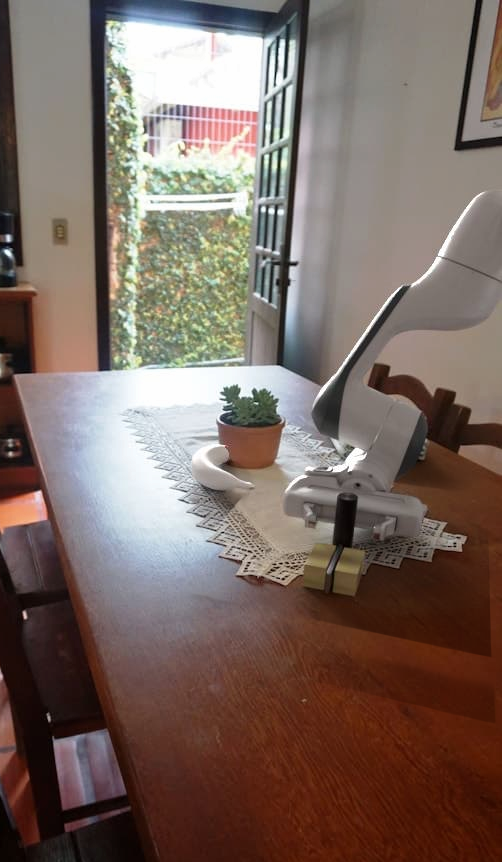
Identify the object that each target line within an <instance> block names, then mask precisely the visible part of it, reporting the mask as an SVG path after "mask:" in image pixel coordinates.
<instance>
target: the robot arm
mask: <svg viewBox="0 0 502 862" xmlns="http://www.w3.org/2000/svg"><path fill="white" fill-rule="evenodd" d="M501 301H502V189H499V188H498V189H496V188H495V189H489V190H485V191H483V192H481V193H479V194H477V195H476V196H475V197H474V198H473V199H472V200H471V202H470V203H469V204H468V205H467V207H466V208H465V210H464V211H463V213H462V214H461V215H460V217H459V218H458V220H457V221H456V223H455V225H454V226H453V228H452V229H451V230H450V232H449V234H448V236H447V238H446V240H445V242H444V243H443V245H442V247H441V249H440V250H439V252H438V255H437V256H436V259H435V260H434V262H433V264H432V265H431V266H430V268H429V269H428V271H427V272H426V273H425V274H423V276H421V277H420V278H419V279H418V280H417V281H415V282H413V283H409V284H407V283H405V284H403V285H401V286H399V287H398V288H397V290H395V291H394V292H393V293H392V294H391V296H390V297H388V299H387V301H386V302H385V303H384V304H383V306H382V307H381V308H380V310H379V312H378V313H377V314H376V316H375V317H374V318H373V320H372V321H371V322H370V324H369V326H368V327H367V328H366V330H365V332H364V333H363V334H362V335H361V337H360V339H359V340H358V341H357V343H356V344H355V345H354V347H353V348H352V350H351V351H350V353H349V354H348V355H347V357H346V359H344V361H343V363H342V365H341V366H340V367H339V369H338V370H337V372H335V374H334V375H333V376H332V377H331V378H330V379H329V380H328V381H327V382H326V383H325V385H323V387H322V388H321V389H320V391H319V392H318V393H317V395H316V398H315V399H314V402H313V405H312V408H311V413H310V415H311V418H312V421H313V424H314V426H315V427H316V430H317V431H318V433H319V434H320V435H322V436H324V437H327V438H329V439H330V438H332V439H335V440H338V441H342V442H345V443H347V444H349V445H351V446H353V447H355V448H356V449H355V450H354V451H353V452H352V453H351V454H350V455H349V456H348V457H347V459H344V462H343V463H342V465H341V464H340V465H335V466H308V467H306V468H305V470H304V475H301V476H298V477H297V478H295V479H294V480H293V481H292V482H291V483H290V484H289V485H288V487H287V488H286V489H285V491H284V493H283V498H282V512H283V515H285V516H287V517H292V518H296V519H302V520H303V521H304V528H306V529H313V530H315V529H316V528H317V526H318V523H320V522H321V523H326V524H333V525H334V522H335V513H336V504H337V495H338V494H339V493H343V492H348V493H353V494H355V495H357V496H358V503H357V511H356V520H355V528H356V529H362V530H367V531H372V537H371V539H372V540H376V541H382V542H383V541H384V539H385V537H388V536H389V537H390V536H391V535H397V536H402V537H409V538H415V537H418V536H420V535H421V533H422V527H423V520H424V517H425V516H426V514H427V513H428V506H427V504H425V503H423V502H422V501H421V499H420V498H418V497H416V496H412V495H408V494H401V493H394V492H391V490H392V489H393V486H394V482H395V480H397V479H400V478H402V477H404V476H405V475H407V474H409V473H410V472H411V471H412V469H413V468H414V466H415V465H416V463H417V461H419V459H418V458H419V456H420V453H421V451H422V449H423V446H425V445H424V443H425V439H427V436H428V431H429V427H428V421H427V418H426V415H425V412H424V411H423V410H421V409H420V408H417V407H415V406H412V405H411V404H409V403H406V402H405V401H402V400H400V399H398V398H393V397H392V396H389V395H387V394H385V393H383V392H381V391H379V390H376V389H375V388H372V387H370V386H368V385H367V384H366V383H365V381H364V377H365V376H366V374H367V373H368V371H369V370H370V369H371V368H372V366H373V365H374V363H375V362H376V361H377V359H378V358H379V356H380V355H381V353H382V352H383V351H384V349H385V348H386V347H387V345H388V344H389V343H390V342H391V340H393V338H395V337H396V336H398V335H399V334H402V333H405V332H410V331H436V332H437V331H438V332H439V331H441V332H457V331H463V330H468V329H471V328H474V327H477V326H479V325H480V324H482V323H484V322H485V321H487V319H489V318H490V316H491V315H492V314H493V312H494V311H495V310H496V308H497V306H498V305H499V304H500V302H501ZM355 528H354V529H355Z"/></svg>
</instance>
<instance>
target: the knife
mask: <svg viewBox="0 0 502 862" xmlns="http://www.w3.org/2000/svg"><path fill="white" fill-rule="evenodd" d="M357 503H358V496H357V495H355V494H353V493H348V492H343V493H339V494H338V495H337V504H336V513H335V522H334V524H333V532H332V533H333V534H332V542H331V545H335V546H336V553H335V555H334V557H333V560H332V562H331V564H330V567H329V569H328V571H327V574H326V584H325V589H324V594H325V595H329V593H330V591H331V588H332V587H333V582H334V573H335V569H336V566H337V564H338V562H339V559H340V557H341V554H342V552H343V549H344V547H346V548H351V549H353V543H354V535H355V520H356V511H357Z"/></svg>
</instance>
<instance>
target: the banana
mask: <svg viewBox="0 0 502 862" xmlns="http://www.w3.org/2000/svg"><path fill="white" fill-rule="evenodd" d="M225 446H226V445H223V444H211V445H207V446H204V447H202V448H200V449H198V450H197V451H196V452H195V453H194V454H193V455H192V458H191V461H190V469H189V470H190V473H191V475H192V477H193V478H194V479H195V480H196V481H197V482H198V483H199V484H201V485H203V486H204V487H206V488H208V489H212V490H215V491H229V490H231V489H232V490H233V489H235V488H239V489H243V490H246V491H249V490H250V489H251V488H252V489H254V488H255V485H253V483H252V482H249V481H248V482H247V481H245V480H241V479H239V478H238V477H236V476H234V474H231V473H230V472H227V471H225V470H224V469H221V468H219V467H217V466H218V465H220V464H225V463H227V461H228V458H229V452H228V450H227V449H226V448H225ZM228 462H229V461H228Z"/></svg>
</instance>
